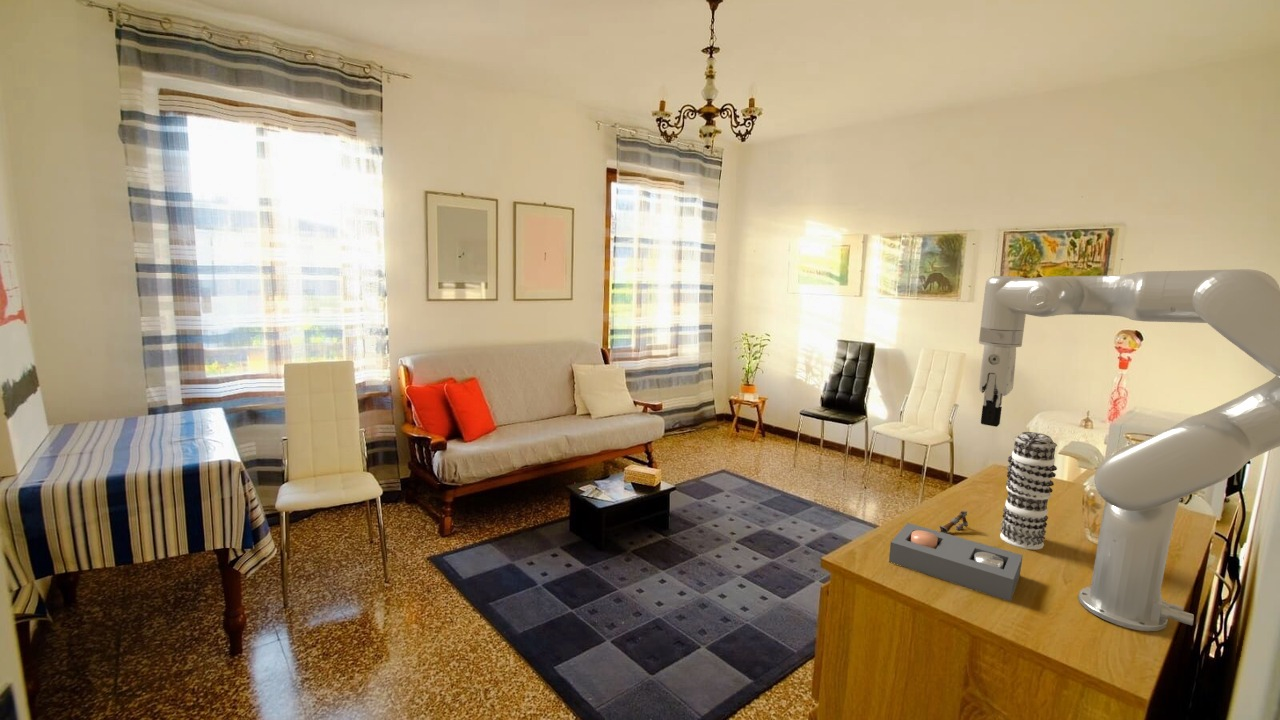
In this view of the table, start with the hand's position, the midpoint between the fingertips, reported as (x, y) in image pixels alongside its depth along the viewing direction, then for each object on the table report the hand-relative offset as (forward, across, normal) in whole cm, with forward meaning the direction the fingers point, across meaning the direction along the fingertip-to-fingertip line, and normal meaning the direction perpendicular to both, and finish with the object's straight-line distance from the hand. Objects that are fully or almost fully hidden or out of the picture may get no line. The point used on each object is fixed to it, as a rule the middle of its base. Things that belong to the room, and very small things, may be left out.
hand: (989, 424), depth 123 cm
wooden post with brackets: (+30, +10, +6) cm, 32 cm away
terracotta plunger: (+28, -10, +8) cm, 31 cm away
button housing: (+29, -10, +2) cm, 31 cm away
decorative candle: (+29, +14, -7) cm, 33 cm away
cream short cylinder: (+29, -10, -4) cm, 31 cm away
